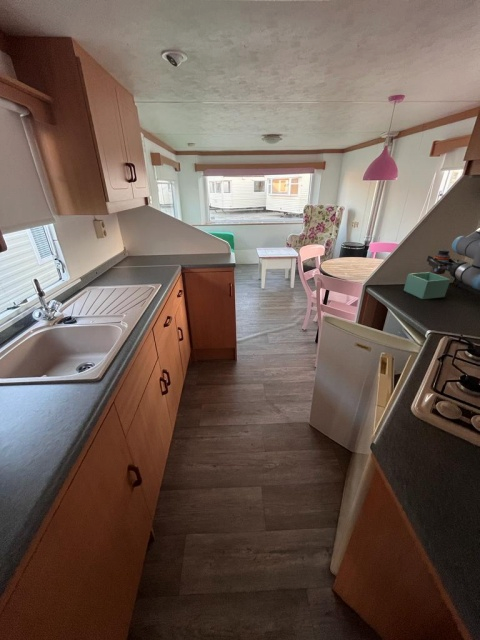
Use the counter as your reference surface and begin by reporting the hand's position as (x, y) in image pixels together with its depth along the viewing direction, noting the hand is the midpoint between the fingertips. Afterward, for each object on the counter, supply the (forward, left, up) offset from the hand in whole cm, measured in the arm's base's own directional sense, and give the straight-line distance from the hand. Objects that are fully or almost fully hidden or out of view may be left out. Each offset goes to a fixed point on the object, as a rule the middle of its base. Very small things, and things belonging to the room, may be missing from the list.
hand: (435, 258), depth 134 cm
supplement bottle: (-5, +2, -6) cm, 8 cm away
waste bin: (+3, -2, -20) cm, 21 cm away
